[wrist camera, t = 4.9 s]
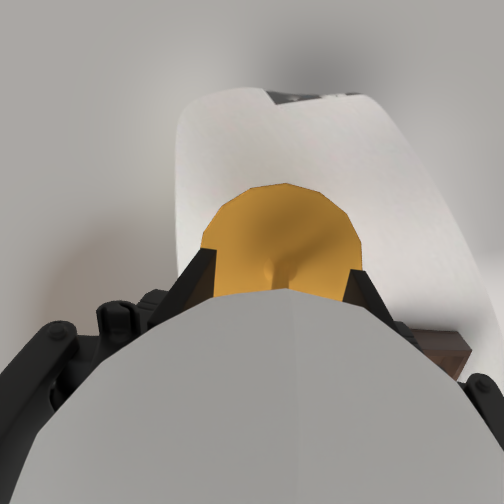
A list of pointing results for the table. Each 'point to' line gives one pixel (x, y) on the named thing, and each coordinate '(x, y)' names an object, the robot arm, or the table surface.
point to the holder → (444, 349)
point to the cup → (268, 389)
